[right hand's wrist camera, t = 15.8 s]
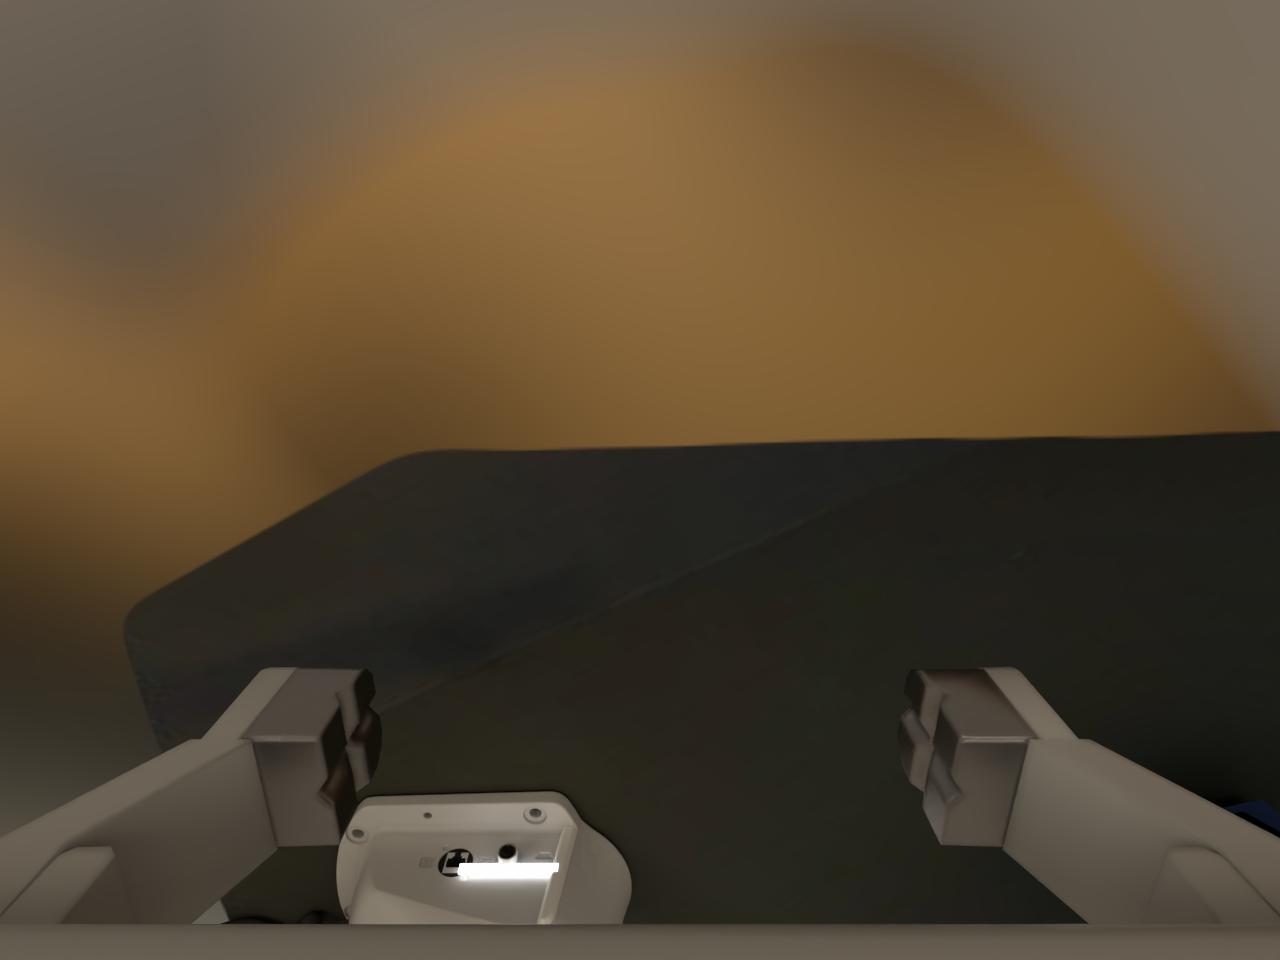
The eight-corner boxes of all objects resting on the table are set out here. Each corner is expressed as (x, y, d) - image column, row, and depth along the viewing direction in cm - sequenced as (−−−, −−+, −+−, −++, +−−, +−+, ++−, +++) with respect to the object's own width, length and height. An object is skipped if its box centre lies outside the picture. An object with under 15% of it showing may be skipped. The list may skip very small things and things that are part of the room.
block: (1197, 853, 52) (1242, 903, 48) (1196, 812, 50) (1242, 860, 46) (1261, 840, 51) (1311, 890, 47) (1262, 798, 50) (1314, 846, 46)
